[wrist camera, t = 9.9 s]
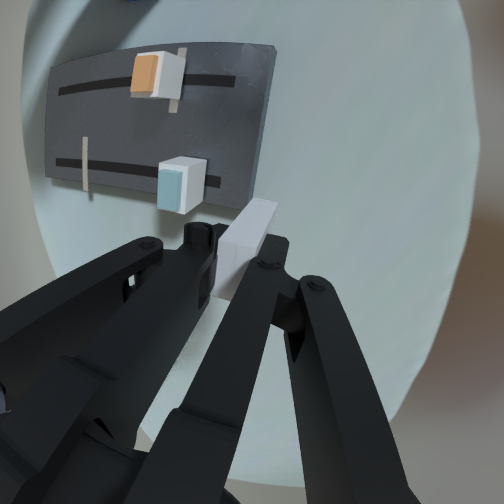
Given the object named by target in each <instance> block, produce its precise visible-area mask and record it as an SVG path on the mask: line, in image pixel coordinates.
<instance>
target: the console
mask: <svg viewBox="0 0 504 504" xmlns="http://www.w3.org/2000/svg"><path fill="white" fill-rule="evenodd" d="M158 51H166V52H169V53H171V54H174V55H176V56H179V57H181V58H184V59H186V62H185V68H184V74H183V80H182V87H181V94H180V99H150V98H131V92H130V90H131V82H132V75H133V69H134V63H135V57H136V56H137V54H139V53H148V52H158ZM276 54H277V51H276V49H275V47H274V46H272V45H262V44H250V43H232V42H190V43H172V44H160V45H151V46H143V47H136V48H129V49H123V50H117V51H112V52H107V53H102V54H98V55H93V56H89V57H85V58H81V59H78V60H74V61H70V62H67V63H64V64H61V65H57V66H54V67H51V70H50V77H49V84H48V93H47V104H46V118H45V172H46V177H51V178H59V179H67V180H74V181H81V182H83V191H89V189H88V183H95V184H102V185H108V186H114V187H121V188H127V189H133V190H139V191H145V192H150V193H156V194H157V192H158V171H159V163H160V162H163V161H166V160H170V159H173V158H176V157H180V156H183V157H191V158H198V159H205V160H207V163H206V172H205V182H204V192H203V201H202V202H204V203H209V204H214V205H219V206H224V207H229V208H234V209H239V210H243V209H244V208H245V207H246V206H247V205H248V203H249V202H250V201H251V200H252V197H253V191H254V185H255V179H256V172H257V166H258V160H259V154H260V148H261V142H262V136H263V130H264V124H265V118H266V112H267V106H268V101H269V95H270V89H271V83H272V77H273V71H274V66H275V60H276Z"/></svg>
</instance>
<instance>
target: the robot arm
mask: <svg viewBox="0 0 504 504" xmlns="http://www.w3.org/2000/svg"><path fill="white" fill-rule="evenodd" d="M277 205H278V203H277V202H272V201H268V200H263V199H258V198H254V197H253V199H252V200H251V201H250V202H249V203H248V205H247V206H246V207H245V208H244V209H243V211H242V212H241V213H240V214H239V215H238V217H237V218H236V219H235V220H234V221H233V223H232V224H231V225H230V226H229V225H225V224H220V223H218V224H215V225H211V224H208V223H204V222H191V223H187V224H185V225H184V241H183V244H182V245H181V246H180V247H179V248H178V249H177V250H169V249H163V242H162V240H160V239H158V238H155V237H150V236H146V237H141V238H138V239H136V240H133V241H131V242H129V243H127V244H125V245H123V246H121V247H119V248H117V249H114V250H112V251H110V252H108V253H106V254H104V255H102V256H100V257H98V258H96V259H94V260H92V261H90V262H88V263H86V264H84V265H82V266H80V267H78V268H76V269H75V270H73V271H71V272H69V273H67V274H65V275H63V276H61V277H59V278H58V279H56V280H54V281H52V282H50V283H48V284H47V285H45V286H43V287H41V288H39V289H38V290H36V291H34V292H32V293H30V294H29V295H27V296H26V297H23V298H22V299H20V300H18V301H17V302H15V303H13V304H12V305H10V306H8V307H7V308H5V309H3V310H2V311H0V504H240V502H239V501H238V500H237V499H236V498H235V497H234V496H233V495H232V494H231V493H230V492H228V491H227V490H226V489H225V488H224V485H225V482H226V479H227V476H228V473H229V470H230V467H231V464H232V461H233V457H234V454H235V451H236V448H237V444H238V441H239V438H240V434H241V431H242V427H243V423H244V420H245V416H246V413H247V409H248V406H249V402H250V399H251V395H252V392H253V388H254V385H255V381H256V377H257V374H258V370H259V366H260V363H261V359H262V355H263V351H264V347H265V344H266V340H267V336H268V332H269V328H270V324H273V325H275V326H277V327H279V328H281V329H283V330H284V341H285V348H286V354H287V360H288V367H289V374H290V380H291V387H292V394H293V400H294V407H295V414H296V421H297V428H298V436H299V443H300V450H301V458H302V465H303V473H304V481H305V489H306V496H307V504H421V503H420V502H419V500H418V499H417V498H416V496H415V495H414V494H413V492H412V491H411V490H410V488H409V487H408V483H407V480H406V476H405V473H404V469H403V466H402V463H401V459H400V456H399V453H398V450H397V447H396V444H395V441H394V437H393V434H392V431H391V428H390V426H389V423H388V420H387V417H386V414H385V411H384V408H383V406H382V403H381V400H380V397H379V395H378V392H377V389H376V387H375V384H374V381H373V379H372V376H371V374H370V371H369V369H368V366H367V364H366V361H365V359H364V356H363V354H362V351H361V349H360V346H359V344H358V341H357V339H356V337H355V334H354V332H353V330H352V327H351V325H350V323H349V320H348V318H347V316H346V313H345V311H344V309H343V307H342V304H341V302H340V300H339V298H338V295H337V293H336V291H335V289H334V287H333V285H332V284H331V283H330V282H329V281H328V280H326V279H325V278H323V277H320V276H315V275H306V276H303V277H302V278H301V279H300V281H299V280H296V279H294V278H292V277H291V276H290V275H288V274H287V273H286V271H285V269H284V265H285V261H286V256H287V252H288V247H289V241H288V240H287V238H285V237H281V236H277V235H272V230H273V225H274V220H275V215H276V210H277ZM132 275H134V281H135V284H134V285H132V286H129V279H128V278H129V277H131V276H132ZM213 287H214V289H213V296H214V297H217V298H221V299H225V300H229V301H231V302H230V304H229V306H228V308H227V311H226V313H225V315H224V317H223V319H222V321H221V323H220V325H219V327H218V329H217V331H216V333H215V335H214V338H213V340H212V342H211V344H210V346H209V348H208V350H207V352H206V354H205V356H204V358H203V360H202V362H201V365H200V367H199V369H198V371H197V373H196V375H195V377H194V379H193V381H192V383H191V385H190V387H189V389H188V391H187V393H186V396H185V398H184V400H183V402H182V403H181V405H180V406H179V408H174V409H173V410H172V411H171V412H170V413H169V415H168V417H167V418H166V420H165V422H164V424H163V426H162V428H161V430H160V432H159V434H158V436H157V438H156V440H155V442H154V444H153V445H152V448H151V449H150V452H144V451H139V450H134V449H133V448H134V446H135V442H136V435H137V430H138V428H139V425H140V423H141V422H142V420H143V418H144V416H145V414H146V413H147V411H148V409H149V407H150V405H151V404H152V402H153V400H154V398H155V396H156V395H157V393H158V391H159V389H160V388H161V386H162V384H163V382H164V380H165V379H166V377H167V375H168V373H169V372H170V370H171V368H172V366H173V364H174V363H175V361H176V359H177V357H178V356H179V354H180V352H181V350H182V349H183V347H184V345H185V343H186V342H187V340H188V338H189V336H190V335H191V333H192V331H193V329H194V328H195V326H196V324H197V322H198V321H199V319H200V317H201V315H202V314H203V312H204V310H205V308H206V307H207V305H208V303H209V299H210V292H211V290H212V288H213ZM10 410H11V411H10ZM7 411H10V412H7Z"/></svg>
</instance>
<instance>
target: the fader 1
mask: <svg viewBox="0 0 504 504" xmlns="http://www.w3.org/2000/svg"><path fill="white" fill-rule="evenodd" d="M185 62H186V59H184V58H181V57H179V56H176V55H174V54H171V53H169V52H166V51H158V52H148V53H139V54H137V56H136V57H135V63H134V69H133V75H132V82H131V90H130V92H131V98H150V99H180V94H181V87H182V80H183V74H184V68H185Z"/></svg>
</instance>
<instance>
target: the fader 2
mask: <svg viewBox="0 0 504 504" xmlns="http://www.w3.org/2000/svg"><path fill="white" fill-rule="evenodd" d="M206 163H207V160H205V159H198V158H191V157H183V156H180V157H176V158H173V159H170V160H166V161H163V162H160V163H159V171H158V192H157V209H160V210H165V211H170V212H175V213H179V214H184V215H185V214H186V213H188V212H189V211H190V210H192V209H193V208H194V207H195V206H197V205H198V204H199V203H201V202H202V201H203V192H204V182H205V172H206Z"/></svg>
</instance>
